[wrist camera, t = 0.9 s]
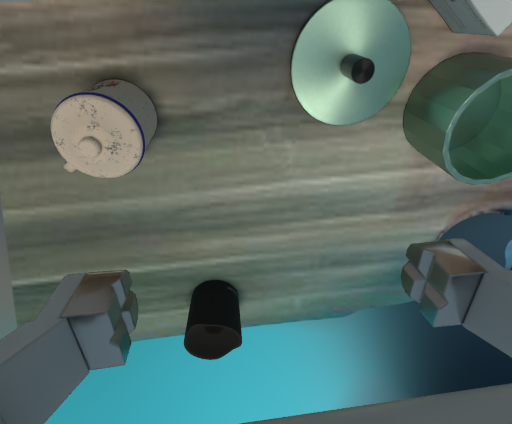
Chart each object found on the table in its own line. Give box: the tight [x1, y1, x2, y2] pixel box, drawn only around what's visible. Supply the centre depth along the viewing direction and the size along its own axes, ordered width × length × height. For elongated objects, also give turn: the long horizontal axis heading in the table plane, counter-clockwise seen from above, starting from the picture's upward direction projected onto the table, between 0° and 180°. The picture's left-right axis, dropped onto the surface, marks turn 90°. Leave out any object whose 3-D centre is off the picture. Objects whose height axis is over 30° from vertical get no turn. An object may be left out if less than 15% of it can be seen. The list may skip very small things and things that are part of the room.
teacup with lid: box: [51, 79, 157, 178], centre depth 34 cm, size 12×9×12 cm
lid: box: [291, 0, 411, 125], centre depth 35 cm, size 14×14×5 cm
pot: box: [403, 53, 512, 185], centre depth 38 cm, size 13×14×10 cm
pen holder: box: [184, 281, 242, 360], centre depth 54 cm, size 9×9×10 cm
